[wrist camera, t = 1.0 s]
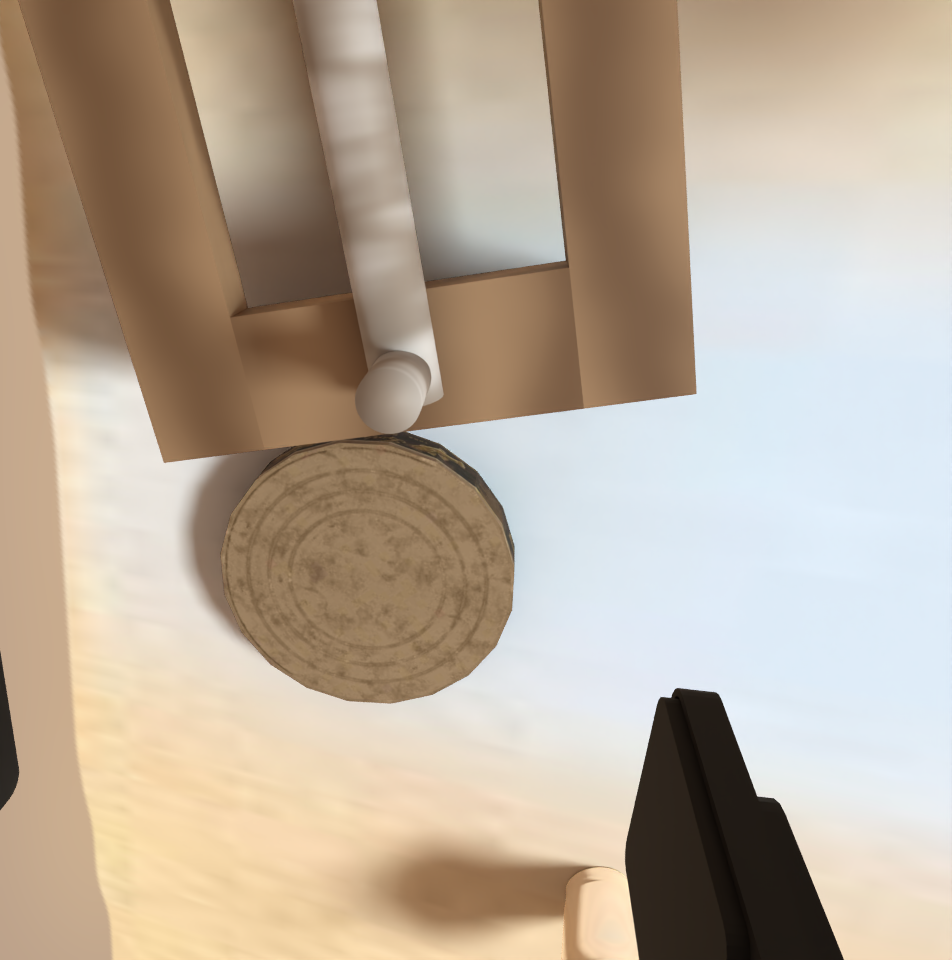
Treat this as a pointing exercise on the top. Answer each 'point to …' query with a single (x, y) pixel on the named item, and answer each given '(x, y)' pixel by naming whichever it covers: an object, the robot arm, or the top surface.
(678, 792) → the robot arm
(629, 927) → the cup with straw
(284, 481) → the brown round disc
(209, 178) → the shelf
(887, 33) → the top surface
